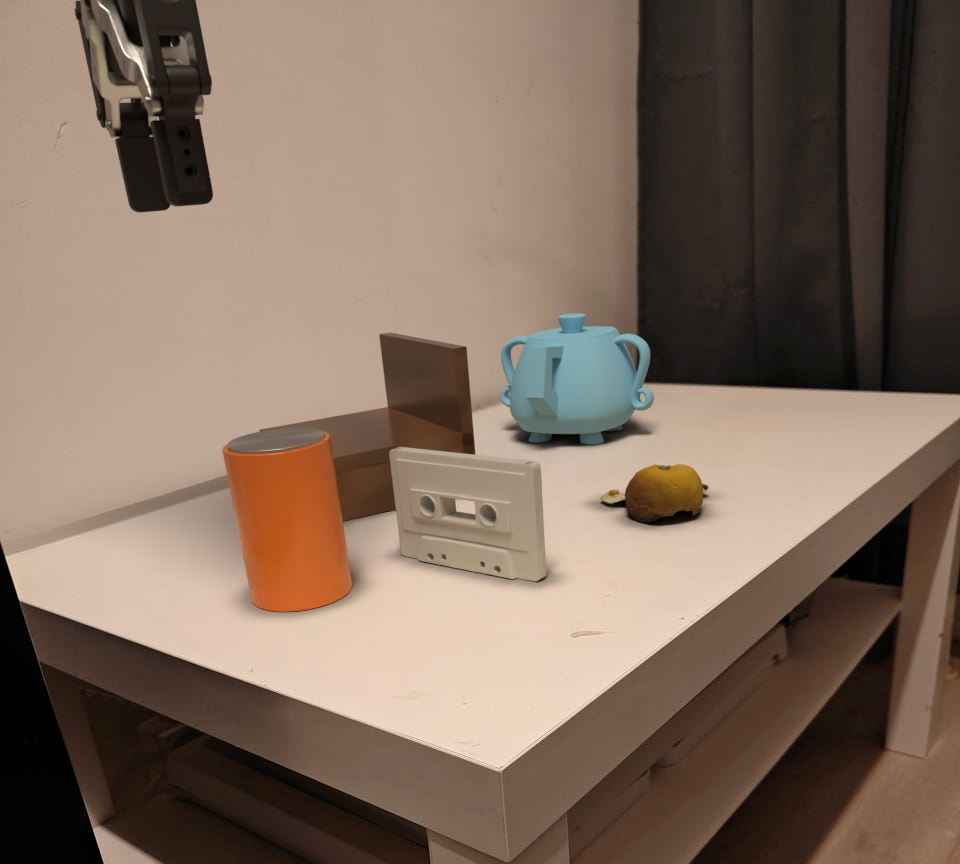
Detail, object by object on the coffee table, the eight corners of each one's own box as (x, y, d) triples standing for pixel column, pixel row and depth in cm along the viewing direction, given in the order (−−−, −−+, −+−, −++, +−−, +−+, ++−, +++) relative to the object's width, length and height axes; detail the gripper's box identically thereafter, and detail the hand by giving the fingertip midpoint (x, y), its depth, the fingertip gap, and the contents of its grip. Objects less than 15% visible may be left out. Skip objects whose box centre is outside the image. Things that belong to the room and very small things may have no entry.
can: (267, 620, 58) (236, 458, 53) (240, 589, 63) (210, 439, 59) (366, 594, 60) (344, 438, 56) (332, 566, 66) (310, 421, 61)
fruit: (700, 489, 75) (701, 444, 74) (731, 520, 68) (732, 470, 66) (598, 499, 75) (597, 454, 74) (617, 531, 68) (616, 481, 66)
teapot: (622, 460, 85) (620, 325, 80) (463, 453, 93) (452, 329, 88) (684, 413, 101) (685, 298, 96) (543, 410, 109) (538, 303, 104)
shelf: (324, 525, 75) (300, 372, 70) (268, 484, 88) (245, 353, 83) (478, 491, 80) (466, 346, 75) (404, 457, 93) (390, 332, 88)
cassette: (395, 557, 66) (382, 450, 63) (412, 549, 68) (400, 444, 64) (535, 585, 59) (529, 467, 56) (551, 575, 61) (546, 459, 58)
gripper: (-11, -134, 47) (74, 219, 54) (23, -259, 36) (125, 208, 42) (141, -123, 50) (203, 209, 57) (216, -234, 39) (282, 196, 46)
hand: (170, 208), depth 50 cm, fingers open, 8 cm apart
